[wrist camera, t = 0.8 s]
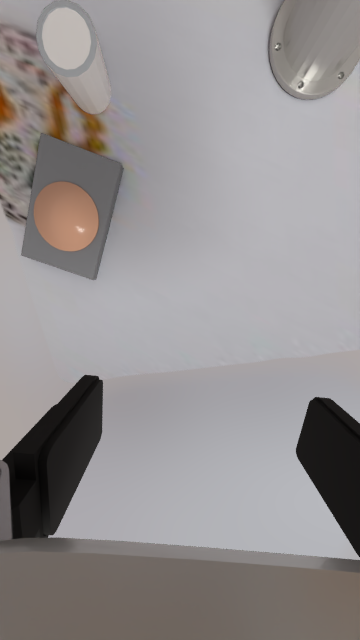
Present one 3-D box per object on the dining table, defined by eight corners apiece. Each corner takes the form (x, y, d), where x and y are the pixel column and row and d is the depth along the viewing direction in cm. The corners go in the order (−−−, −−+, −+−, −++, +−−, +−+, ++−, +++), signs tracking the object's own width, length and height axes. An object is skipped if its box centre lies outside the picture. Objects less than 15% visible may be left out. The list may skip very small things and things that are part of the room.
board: (47, 139, 31) (41, 132, 30) (123, 168, 32) (120, 163, 31) (27, 255, 35) (21, 255, 34) (96, 279, 36) (92, 279, 35)
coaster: (41, 172, 31) (39, 171, 31) (106, 196, 32) (105, 195, 31) (30, 239, 33) (28, 238, 33) (90, 260, 34) (89, 260, 34)
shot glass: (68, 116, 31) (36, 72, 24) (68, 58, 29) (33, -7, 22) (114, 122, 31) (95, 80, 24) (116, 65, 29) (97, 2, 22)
